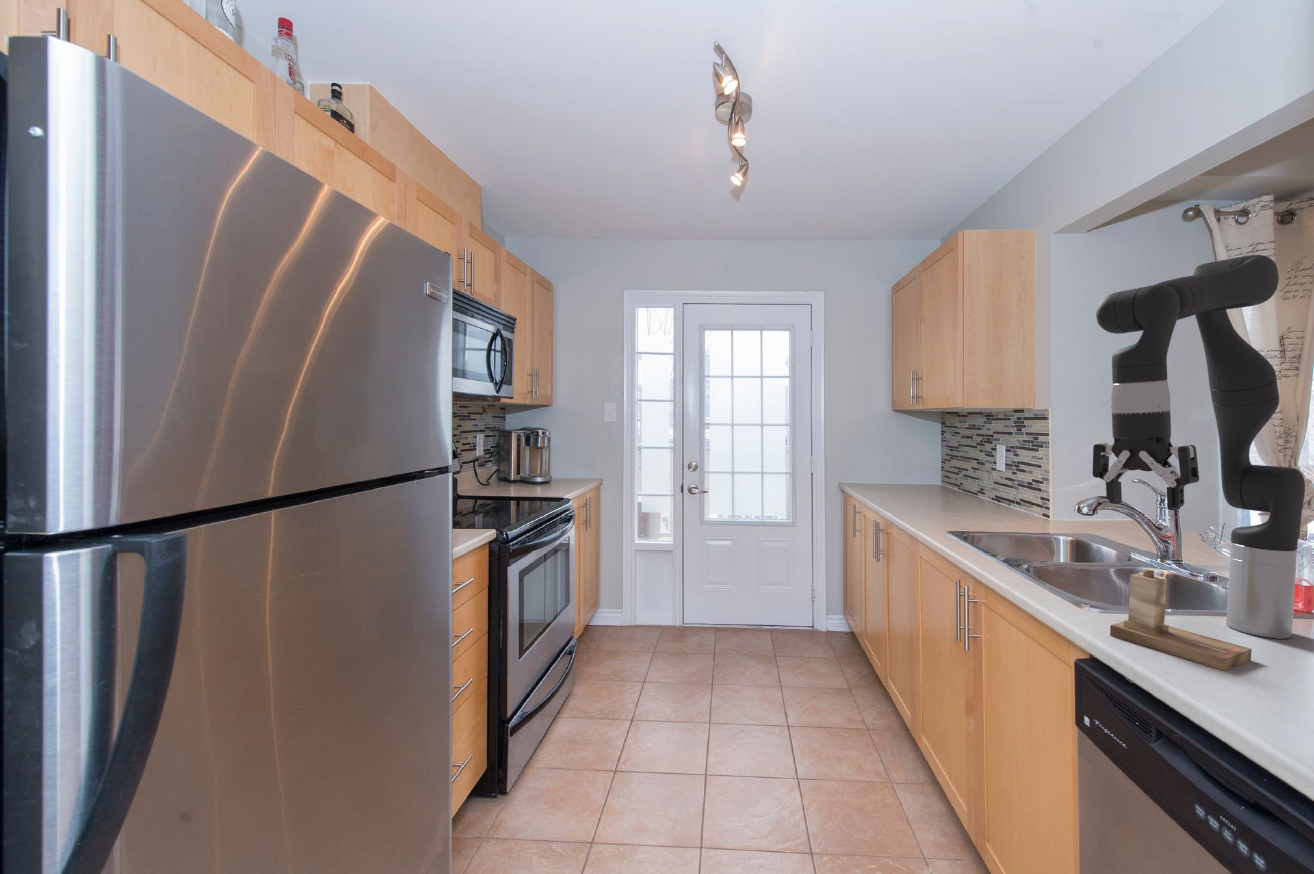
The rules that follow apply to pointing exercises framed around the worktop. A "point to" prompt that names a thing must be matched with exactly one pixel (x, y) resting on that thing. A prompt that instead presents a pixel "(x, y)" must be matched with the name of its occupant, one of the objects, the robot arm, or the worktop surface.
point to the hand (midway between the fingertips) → (1143, 506)
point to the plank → (1187, 646)
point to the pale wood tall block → (1147, 603)
